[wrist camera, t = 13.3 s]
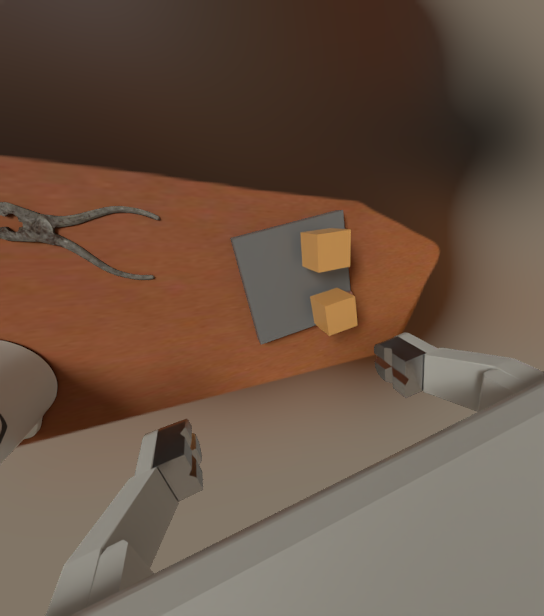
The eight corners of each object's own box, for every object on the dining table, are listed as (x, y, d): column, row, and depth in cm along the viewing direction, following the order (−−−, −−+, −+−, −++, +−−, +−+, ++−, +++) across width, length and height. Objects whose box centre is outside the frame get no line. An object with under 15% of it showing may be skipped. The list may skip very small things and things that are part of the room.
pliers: (166, 279, 36) (-10, 285, 31) (166, 278, 37) (-5, 283, 31) (158, 207, 33) (-41, 199, 27) (159, 207, 34) (-34, 199, 28)
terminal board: (258, 339, 45) (272, 365, 37) (230, 238, 38) (240, 243, 30) (346, 308, 48) (377, 326, 40) (336, 210, 41) (371, 209, 33)
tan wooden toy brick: (300, 232, 36) (317, 234, 32) (330, 228, 38) (350, 229, 33) (302, 266, 38) (318, 272, 34) (331, 260, 40) (350, 266, 35)
